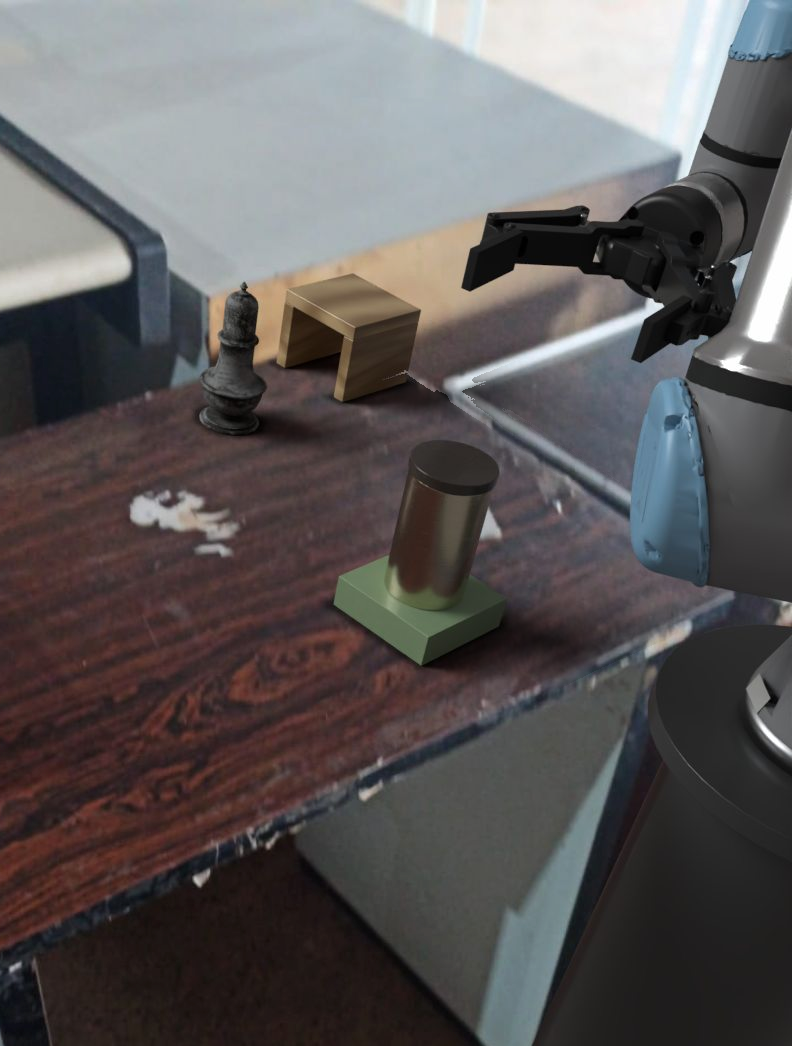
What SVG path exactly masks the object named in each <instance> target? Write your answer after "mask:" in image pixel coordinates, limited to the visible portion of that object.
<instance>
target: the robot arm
mask: <svg viewBox="0 0 792 1046" xmlns="http://www.w3.org/2000/svg"><path fill="white" fill-rule="evenodd" d="M706 121H707V122H706V124H705V128H704V130H703V132H702V135H701V137H700V139H699V141H698V145H697V146H696V150H695V153H694V156H693V160H692V163H691V166H690V169H689V171H688V174H687V175H686V176H684V177H682V178H680V179H677V180H675V181H673V182H671V183H668V184H667V185H665V186H663V187H662V188H660V189H658V190H656V191H653V192H652V193H649V194H647V195H645V196H644V197H642V198H640V199H638V200H637V201H635V202H634V203H633V204H632V205H631V206H630V207H629V208H628V209H626V211H625V212H624V214H623V215H622V216H621V217H620V218H619V219H618V220H616V221H603V220H602V221H600V220H591V221H590V220H588V219H589V215H590V212H591V209H590V208H589V207H587V206H585V205H583V204H582V205H574V206H571V207H568V208H564V209H543V210H522V211H521V210H519V211H497V212H496V211H494V212H487V214H486V217H485V218H486V219H485V223H484V227H483V232H482V235H481V240H480V241H479V244H477V245H474V246H473V247H471V248H469V252H468V256H467V260H466V265H465V269H464V273H463V277H462V282H461V286H460V289H461V290H464V291H467V292H469V293H470V292H473V291H475V290H477V289H478V288H481V287H482V286H485V285H486V284H489V283H491V282H493V281H494V280H497V279H499V278H502V277H504V276H506V275H507V274H509V273H511V272H514V270H515V266H516V265H532V266H550V267H566V268H567V267H568V268H578V270H579V271H581V273H582V274H583V275H591V276H608V277H611V279H613V280H617V281H618V280H622V281H623V282H624V284H625V285H626V286H627V287H628V288H629V289H630V290H632V291H633V292H634V293H636V294H637V295H639V296H642V297H643V298H647V299H652V301H653V302H654V303H656V304H662V305H663V307H661V308H660V309H658V310H656V311H655V312H653V313H652V314H651V315H649V316H647V317H646V318H644V319H643V322H642V324H641V328H640V331H639V334H638V337H637V340H636V343H635V346H634V348H633V351H632V354H631V357H630V360H632V361H634V362H636V363H639V364H642V363H644V362H645V361H646V360H648V359H650V358H651V357H653V356H654V355H656V354H657V353H658V352H660V351H661V350H663V349H665V348H666V347H667V346H669V345H673V346H676V347H678V346H683V345H684V344H686V343H687V342H689V341H691V340H692V341H696V340H699V338H700V337H701V336H705V337H707V339H706V340H705V341H703V342H702V343H701V344H699V345H697V346H696V347H694V349H693V352H692V355H691V358H690V361H689V364H688V368H687V370H686V374H685V377H684V378H682V377H680V376H672V377H671V378H664V379H662V380H660V381H659V382H658V384H657V383H656V385H655V387H654V389H653V390H652V393H651V395H650V399H649V404H648V408H647V409H646V411H645V414H644V417H643V420H642V424H641V429H640V433H639V437H638V443H637V449H636V454H635V461H634V467H633V474H632V482H631V493H630V504H629V505H630V506H629V533H630V534H629V535H630V541H631V547H632V550H633V552H634V555H635V557H636V559H637V560H638V562H639V563H640V564H641V566H643V567H644V568H645V569H647V570H648V571H651V572H653V573H655V574H660V575H663V576H666V577H671V578H675V579H679V580H682V581H686V582H690V583H691V584H693V585H694V586H695V587H697V588H704V587H705V586H707V587H712V588H717V589H722V590H728V591H732V592H735V593H740V594H741V593H742V594H747V595H751V596H756V597H761V598H765V599H770V600H776V601H779V602H786V603H791V604H792V0H748V3H747V6H746V8H745V10H744V12H743V15H742V17H741V20H740V23H739V26H738V28H737V31H736V33H735V36H734V39H733V41H732V43H731V44H730V45H729V48H728V52H727V59H726V62H725V64H724V68H723V71H722V74H721V78H720V80H719V84H718V87H717V90H716V93H715V96H714V99H713V103H712V105H711V108H710V112H709V115H708V117H707V120H706ZM750 253H751V254H750ZM748 254H750V256H749V260H748V262H747V265H746V269H745V272H744V275H743V278H742V281H741V284H740V288H739V290H738V293H737V295H736V291H735V287H734V282H733V280H734V277H735V275H736V272H737V269H738V266H737V265H736V264H734V262H733V261H734V260H736V259H738V258H741V257H743V256H746V255H748ZM595 256H596V257H597V260H598V261H594V258H595ZM740 717H741V720H742V723H743V726H744V728H745V730H746V732H747V734H748V735H749V737H750V738H751V740H752V741H753V743H754V744H755V745H756V746H757V747H758V749H759V750H760V751H761V752H762V753H763V754H764V755H765V756H766V757H767V758H768V759H769V760H771V761H772V762H773V763H774V764H775V765H777V766H778V767H779V768H780V769H782V770H783V771H785V772H786V773H788V774H789V775H791V776H792V635H791V636H790V637H789V638H788V639H787V640H786V641H785V642H784V643H783V644H782V645H781V646H780V647H779V648H778V649H777V650H776V651H775V652H774V653H773V654H772V655H771V656H770V657H768V658H767V659H766V660H765V661H764V662H763V663H762V664H761V665H760V666H759V667H758V668H757V669H756V670H755V672H754V673H753V675H752V677H751V679H750V681H749V683H748V685H747V687H746V689H745V691H744V693H743V695H742V697H741V701H740Z"/></svg>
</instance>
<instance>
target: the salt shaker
mask: <svg viewBox="0 0 792 1046" xmlns="http://www.w3.org/2000/svg"><path fill="white" fill-rule="evenodd" d="M239 288H240V289H239V290H236V291H234V292H231V293H230V294H229V295H228V296H227V297H226V299H225V303H224V312H223V320H222V329H221V330H219V331H218V333H217V335H216V336H217V339H218V340H219V352H218V359H217V361H216V362H217V363H216V364H215V366H211V367H209V368H206V369H204V370H203V371H202V372H201V373H200V375H199V382H200V384H201V385H202V393H203V397H204V400H205V401H206V403H207V404H208V405H209V406H207V407H204V408H203V409H202V410H201V411H200V413H199V421H200V422H201V424H202V425H203V426H205V428H207V429H209V430H212V431H213V432H216V433H219V434H222V435H223V434H224V435H229V436H243V435H247V434H251V433H253V432H255V431H256V430H257V429H259V425H260V421H259V418H258V417H257V416H256V414H255V413H253V411H254V410H255V409H256V408H258V406H259V403H260V402H261V401H262V398H263V394H264V393H266V391H267V389H268V384H267V382H266V380H265V379H264V377H263V376H261V375H260V374H259V373H257V372H256V371H255V369H254V359H255V358H254V357H255V350H256V349H255V348H256V347H257V346H258V345H259V343H260V338H259V336H258V335H257V334H256V332H257V324H258V318H259V317H258V316H259V308H260V307H259V301H258V300H257V297H255V296H254V295H253V294H252V293H250V292H249V291H247V289H249V285H248V284H247V283H246V281H243V282H242V283H241V284H240V285H239Z"/></svg>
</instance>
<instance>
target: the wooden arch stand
mask: <svg viewBox="0 0 792 1046" xmlns="http://www.w3.org/2000/svg"><path fill="white" fill-rule="evenodd" d="M421 314H422V309H420V308H419V307H417V306H415V305H413V304H411V303H409V302H407V301H405V300H404V299H402V298H401V297H399V296H396V295H395V294H393V293H392V292H391V293H390V292H389V291H387V290H385V289H383V288H382V287H379V286H377V285H376V284H374V283H372V282H370V281H369V280H366V279H364V278H363V277H361V276H359V275H358V274H355V273H349V274H345V275H339V276H336V277H332V278H328V279H324V280H319V281H315V282H310V283H306V284H302V285H298V286H293V287H290V288H286V292H285V299H284V303H283V312H282V319H281V327H280V334H279V343H278V348H277V349H278V350H277V355H276V356H277V357H276V364H277V365H279V366H280V367H283V368H284V369H286V368H291V367H293V366H297V365H301V364H304V363H307V362H311V361H315V360H318V359H321V358H325V357H328V356H331V355H336V354H338V353H340V357H339V364H338V369H337V375H336V380H335V381H336V382H335V387H334V393H333V398H335V399H336V400H337V401H339V402H341V403H344V402H347V401H351V400H354V399H357V398H360V397H364V396H366V395H370V394H373V393H377V392H378V391H383V390H386V389H389V388H392V387H394V386H398V385H401V384H405V383H406V382H407V378H408V374H409V369H410V364H411V360H412V356H413V350H414V346H415V341H416V336H417V331H418V326H419V322H420V317H421ZM404 370H406V371H408V373H405V374H401V375H398V376H395V375H396V374H399V373H401V372H404ZM392 376H395V377H392ZM388 377H389V379H386V378H388ZM390 377H392V378H390ZM383 379H385V380H383Z"/></svg>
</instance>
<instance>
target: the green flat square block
mask: <svg viewBox="0 0 792 1046" xmlns="http://www.w3.org/2000/svg"><path fill="white" fill-rule="evenodd" d="M389 555H390V554H387V555H385V556H383V557H381V558H378V559H376V560H374V561H371V562H368V563H367V564H363V565H361V566H359V567H358V568H355V569H352V570H350V571H348V572H345V573H343V574H341V575H339V576H338V580H337V583H336V589H335V595H334V599H333V605H334V606H335V607H336V608H337V609H339V610H340V611H342V612H343V613H345V614H346V615H347V616H349V617H351V618H352V619H353V620H354V621H356V622H357V623H359V624H360V625H362V626H363V627H365V628H366V629H367V630H369V631H371V632H372V633H373V634H375V635H376V636H378V637H379V638H381V639H383V641H385V642H386V643H388V644H389V645H391V647H393V648H395V649H396V650H398V651H399V652H400V653H402V654H403V655H405V656H406V657H407V658H409V659H410V660H412V661H413V662H415V663H417V664H418V665H419V666H421V667H422V666H424V665H426V664H428V663H429V662H432V661H434V660H435V659H438V658H440V657H441V656H443V655H446V654H448V653H449V652H451V651H453V650H455V649H457V648H459V647H461V646H463V645H465V644H467V643H469V642H471V641H473V640H475V639H477V638H479V637H481V636H483V635H485V634H487V633H489V632H491V631H493V630H494V629H497V628H499V627H500V625H501V621H502V617H503V614H504V611H505V608H506V605H507V602H508V598H507V597H506V596H504V595H502V594H501V593H499V592H498V591H496V590H495V589H493V587H492V588H491V587H490V586H488V585H487V584H485V583H484V582H482V581H481V580H479V579H478V578H476V577H474V576H473V575H471V574H470V575H469V578H468V582H467V586H466V589H465V593H464V596H463V599H462V601H461V602H460V603H459V604H458V605H456V606H454V607H452V608H449V609H446V610H424V609H419V608H415V607H412V606H409V605H407V604H404V603H402V602H401V601H399V600H397V599H396V598H395V597H393V596H392V595H391V594H390V593H389V592H388V590H387V589H386V587H385V584H384V577H385V572H386V568H387V563H388V559H389Z"/></svg>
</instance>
